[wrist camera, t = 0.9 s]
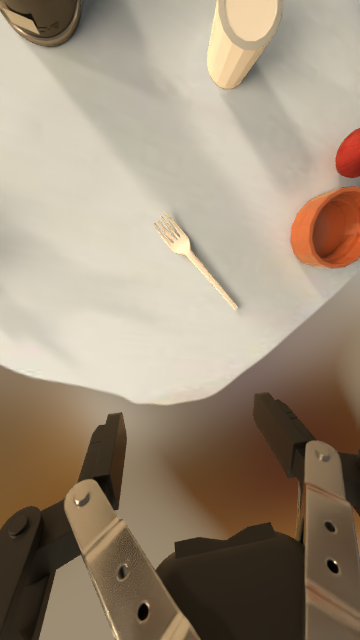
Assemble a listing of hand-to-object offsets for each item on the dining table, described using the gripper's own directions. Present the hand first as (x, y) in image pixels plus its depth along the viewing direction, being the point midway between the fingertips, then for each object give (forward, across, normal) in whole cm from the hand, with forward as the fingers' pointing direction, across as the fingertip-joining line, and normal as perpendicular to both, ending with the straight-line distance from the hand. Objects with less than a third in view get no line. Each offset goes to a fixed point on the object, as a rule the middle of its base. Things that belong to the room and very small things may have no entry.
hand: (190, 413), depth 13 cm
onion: (+26, -29, -20) cm, 44 cm away
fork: (+26, -7, -6) cm, 28 cm away
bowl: (+26, -28, -10) cm, 39 cm away
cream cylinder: (+26, -11, -32) cm, 43 cm away
